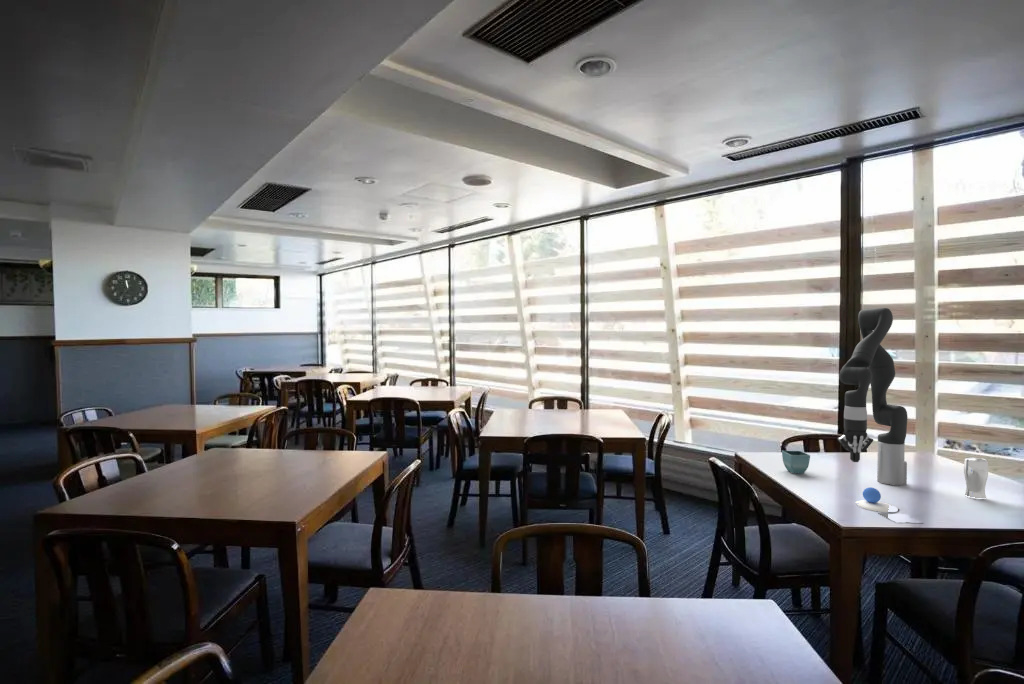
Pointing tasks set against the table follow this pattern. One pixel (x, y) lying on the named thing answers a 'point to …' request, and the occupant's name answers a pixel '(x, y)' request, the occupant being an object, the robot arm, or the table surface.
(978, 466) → the beer glass
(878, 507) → the disc
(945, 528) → the table surface
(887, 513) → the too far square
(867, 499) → the ball
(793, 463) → the flower pot
